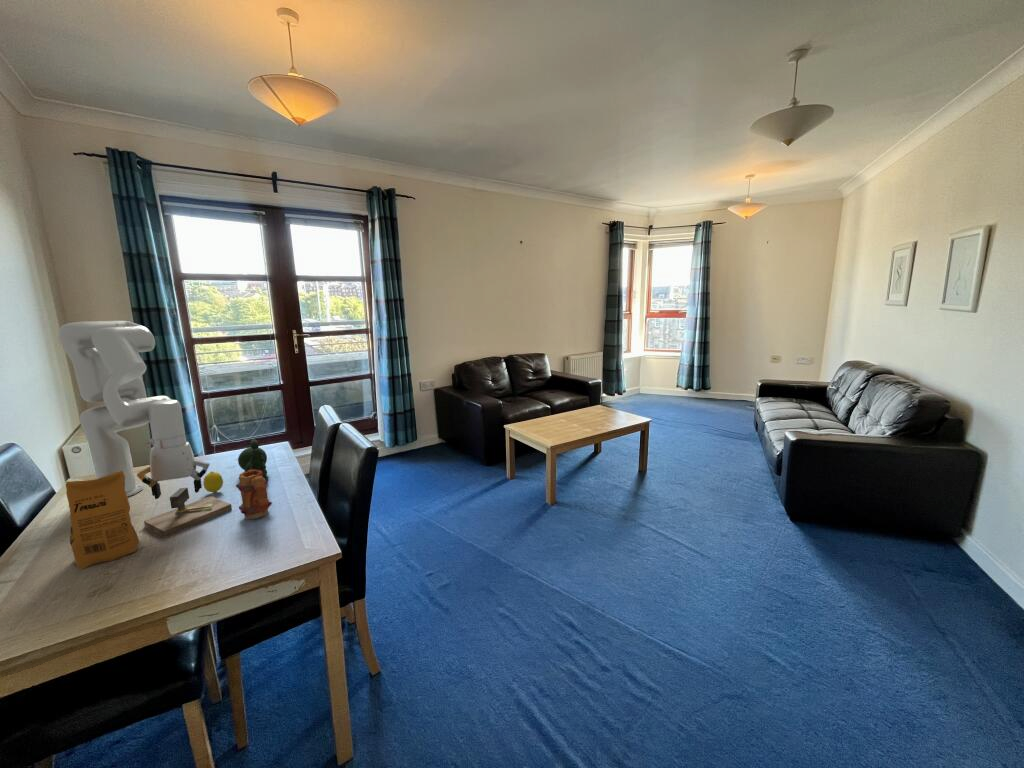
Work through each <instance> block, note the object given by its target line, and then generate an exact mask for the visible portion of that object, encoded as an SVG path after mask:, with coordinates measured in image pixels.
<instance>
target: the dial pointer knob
mask: <svg viewBox="0 0 1024 768" xmlns="http://www.w3.org/2000/svg"><path fill="white" fill-rule="evenodd" d="M188 488H189V487H180V488H179V489H177V490H176V491H175V492H174V493H173V494H172V495H171V496H170V497H169V501H170V508H171V509H177V508H178V509H177V510H176V512H177V513H183V512H185V511H189V510H198V509H207V508H212V505H209V506H200V507H191V508H187V507H185V505H186V504H185V503H186V502H187V501H188V500H189V499H190V494H189V489H188Z"/></svg>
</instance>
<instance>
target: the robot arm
mask: <svg viewBox="0 0 1024 768" xmlns="http://www.w3.org/2000/svg"><path fill="white" fill-rule="evenodd" d="M58 340H59V343H60V345H61V347H62V349H63V350H64V352H65V353H66V354H67V356H68V357H69V359H70V361H71V363H72V365H73V371H74V374H75V380H76V382H77V386H78V390H79V394H80V396H81V398H82V400H84V401H85V402H87V403H102V402H104V403H103V405H98V406H93V407H90V408H88V409H86V410H84V411H82V412H81V413H80V415H79V417H78V418H79V420H78V421H79V425H80V426H81V429H82V430H83V433H84V434H85V438H86V440H87V445H88V447H89V451H90V452H89V453H90V456H91V461H92V466H93V471H94V476H95V479H98V478H101V477H104V476H107V475H110V474H113V473H116V472H120V471H123V473H124V476H125V492H126V494H127V498H128V497H131V496H133V495H137V494H138V493H139V492H141V491H142V490H143V489H144V486H143V483H144V484H145V485H147V486H148V487H150V489H151V494H152V496H153V497H154V499H155V500H158V499H159V498H160V497H161V496H162V490H161V485H160V483H159V482H163V481H170V480H178V479H184V478H189V477H191V478H192V479H193V488H194V493H196V494H197V493H199V492H200V490H201V489H202V488H203V486H202V477H203V476H204V475H205V474H206V473H207V471H208V469H209V467H210V465H211V464H210V463H209V462H205V461H202V460H197V459H196V458H195V454H194V452H193V449H192V446H191V444H190V442H189V441H187V438H186V437H187V436H186V431H185V424H184V419H183V411H182V406H181V403H180V402H179V400H177V399H172V398H170V397H169V396H167V395H157V396H150V397H147V392H146V387H145V382H144V380H143V378H142V377H141V376H143V375H144V374H145V373H146V371H147V365H146V363H145V362H144V360H143V358H142V356H141V354H139V353H146V352H151V351H153V350H154V349H155V347H156V339H155V336H154V334H153V333H152V331H151V330H150V329H149V328H147V327H146V326H144V325H141V324H138V323H135V322H131V321H129V320H103V321H102V320H97V321H95V320H94V321H92V320H91V321H90V320H89V321H87V320H86V321H76V322H69V323H65V324H63V325H62V326H61V327H60V328H59V330H58ZM123 399H125V400H126V401H125V400H123ZM148 423H149V425H150V432H151V438H149V439H146V444H147V445H152V447H150V451H149V466H148V467H146V468H144V469H143V470H141V471H139V472H137V474H136V475H135V469H134V464H133V459H132V453H131V448H130V444H129V441H128V440H127V439H126V438H124V437H123V436H121V435H119V434H118V433H119V432H122V431H124V430H130V429H135V428H139V427H142V426H144V425H147V424H148ZM197 467H200V468H202V469H201V470H200V471H198V470H196V469H197ZM149 473H150V477H149V476H147V474H149ZM136 477H137V478H138V479H139V480H141V482H142V483H141V482H137V481H136Z"/></svg>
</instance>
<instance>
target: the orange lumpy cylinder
mask: <svg viewBox="0 0 1024 768" xmlns="http://www.w3.org/2000/svg"><path fill="white" fill-rule="evenodd" d="M238 480H239V482H238V483H237V484H236V486H235V487H236V488H237V489H238V490H239V492H240V495H241V496H240V497H241V501H242V503H241V505H239V506H238V509H239V510H240V513H241V514H243V516H244V519H246V520H254V519H258V518H262V517H264V516H266V515H267V514H268V513H269V508H270V507H271V505H272V504H273V502H272V501H270V499H269V497H268V491H267V485H268V483H269V481H268V482H267V481H266V479H265V478H263V472H262V471H261V470H248V471H247V472H245V470H243V472H241V473H239V474H238Z"/></svg>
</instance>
